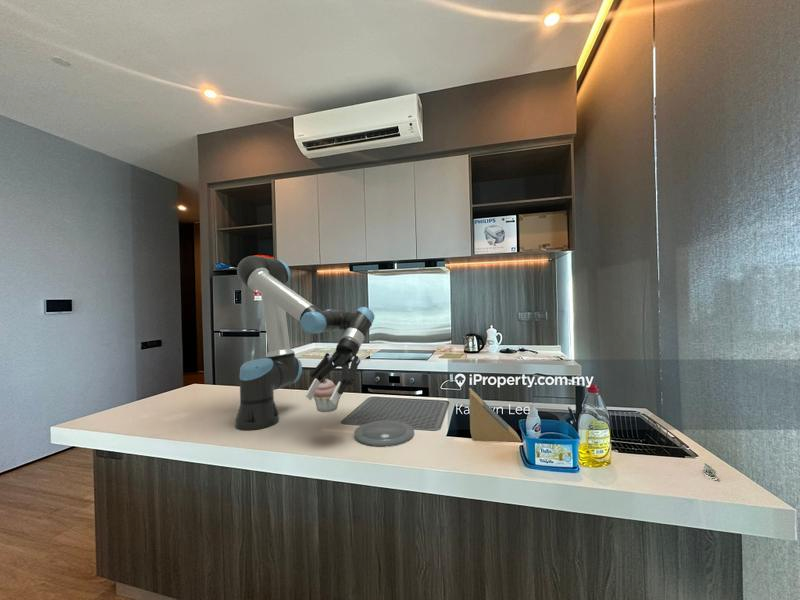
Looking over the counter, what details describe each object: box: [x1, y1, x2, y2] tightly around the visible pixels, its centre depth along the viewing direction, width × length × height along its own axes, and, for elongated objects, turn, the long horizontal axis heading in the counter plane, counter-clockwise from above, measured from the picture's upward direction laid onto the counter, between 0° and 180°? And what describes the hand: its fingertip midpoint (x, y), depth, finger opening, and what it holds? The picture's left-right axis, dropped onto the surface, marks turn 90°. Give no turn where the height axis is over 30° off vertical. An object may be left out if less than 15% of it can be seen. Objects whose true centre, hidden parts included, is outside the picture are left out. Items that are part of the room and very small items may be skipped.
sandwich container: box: [468, 387, 522, 443], centre depth 110 cm, size 9×15×15 cm, turn 83°
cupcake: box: [312, 378, 343, 413], centre depth 109 cm, size 9×9×10 cm
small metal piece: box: [701, 463, 719, 480], centre depth 83 cm, size 6×2×3 cm, turn 163°
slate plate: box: [353, 419, 415, 448], centre depth 114 cm, size 20×20×1 cm
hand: (320, 400), depth 106 cm, fingers closed on cupcake, 9 cm apart
